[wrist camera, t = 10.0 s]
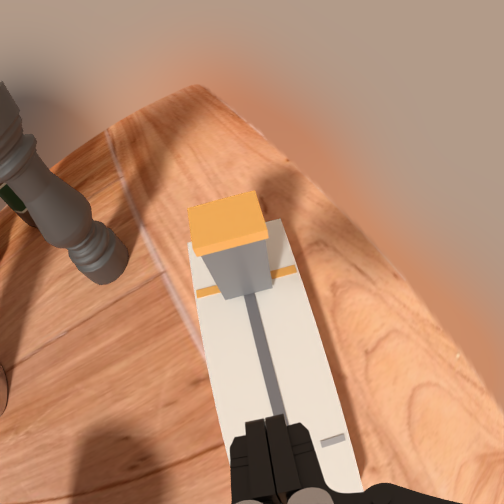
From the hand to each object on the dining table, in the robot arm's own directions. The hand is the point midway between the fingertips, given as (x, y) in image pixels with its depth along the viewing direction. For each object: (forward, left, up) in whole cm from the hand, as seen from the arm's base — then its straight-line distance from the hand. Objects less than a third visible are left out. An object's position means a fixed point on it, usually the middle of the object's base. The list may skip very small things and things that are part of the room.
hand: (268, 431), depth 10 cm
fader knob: (-9, +9, -13) cm, 18 cm away
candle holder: (-26, +3, -16) cm, 31 cm away
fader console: (-3, +3, -16) cm, 17 cm away
